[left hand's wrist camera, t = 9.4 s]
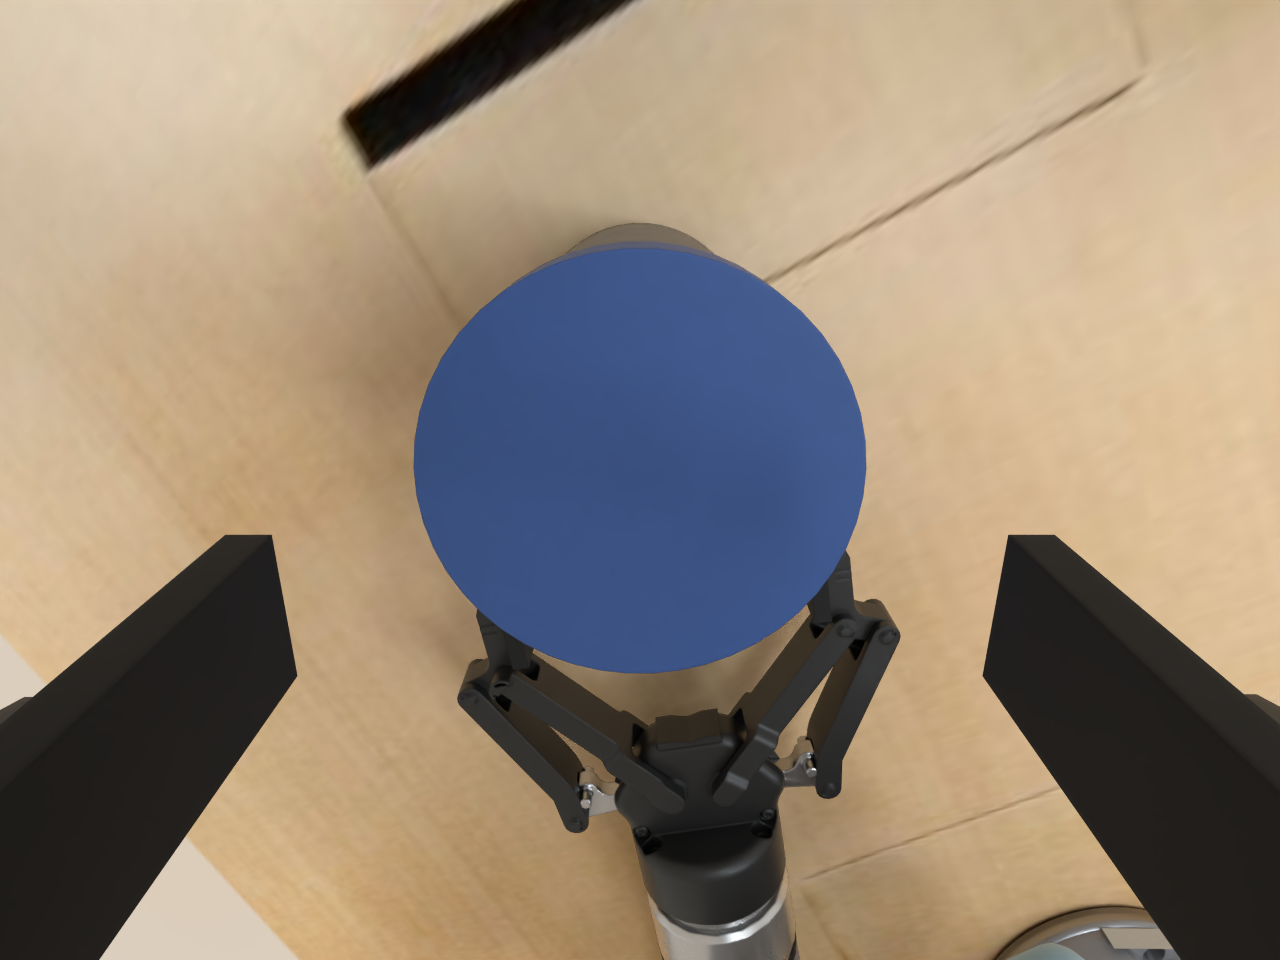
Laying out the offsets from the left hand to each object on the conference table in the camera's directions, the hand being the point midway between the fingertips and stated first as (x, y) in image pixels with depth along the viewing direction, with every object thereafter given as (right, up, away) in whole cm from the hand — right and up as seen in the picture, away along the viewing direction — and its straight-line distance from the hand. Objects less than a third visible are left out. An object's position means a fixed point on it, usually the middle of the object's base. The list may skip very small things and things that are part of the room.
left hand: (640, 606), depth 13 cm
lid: (0, +2, +6) cm, 6 cm away
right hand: (0, +1, +20) cm, 21 cm away
